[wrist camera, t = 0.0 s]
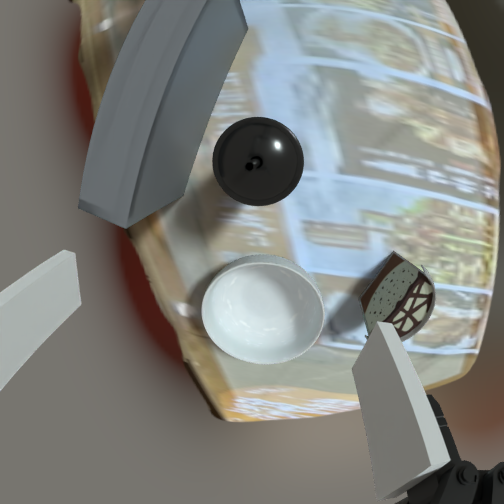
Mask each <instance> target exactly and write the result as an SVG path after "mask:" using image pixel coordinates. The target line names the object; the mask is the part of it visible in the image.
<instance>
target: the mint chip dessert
mask: <svg viewBox="0 0 504 504" xmlns="http://www.w3.org/2000/svg"><path fill="white" fill-rule="evenodd" d="M421 266H422V268H423V270H424V272H423V271H421V270H420V269H418V268H417V267H416V266H414V265H413V264H412V263H410V262H409V261H407V260H406V259H404V258H403V257H402V256H400V255H399V254H397V253H396V252H394V251H393V253H392V254H391V255H390V257H389V258H388V260H387V261H386V263H385V264H384V265H383V267H382V268H381V269H380V271H379V272H378V274H377V275H376V276H375V278H374V279H373V280H372V282H371V283H370V284H369V286H368V287H367V288H366V290H365V291H364V292H363V293H362V295H361V296H360V297H359V302H360V306H361V309H362V313H363V317H364V320H365V324H366V328H367V332H368V336H366V335H365V337H366V339H367V340H368V338H369V336H370V334H371V332H372V330H373V328H374V326H375V324H376V322H377V321H378V322H385V323H392V324H393V326H394V328H395V330H396V332H397V334H398V336H399V338H400V340H401V342H403V341H405V340H407V339H409V338H410V337H412V336H413V335H415V334H416V333H417V332H418V331H420V330H421V328H422V327H423V326H424V325H425V324H426V323H427V321H428V320H429V318H430V316H431V314H432V312H433V309H434V306H435V300H436V292H435V286H434V283H433V280H432V278H431V276H430V274H429V272H428V271H427V269H426V268H425V267H424V266H423V265H421Z"/></svg>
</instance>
